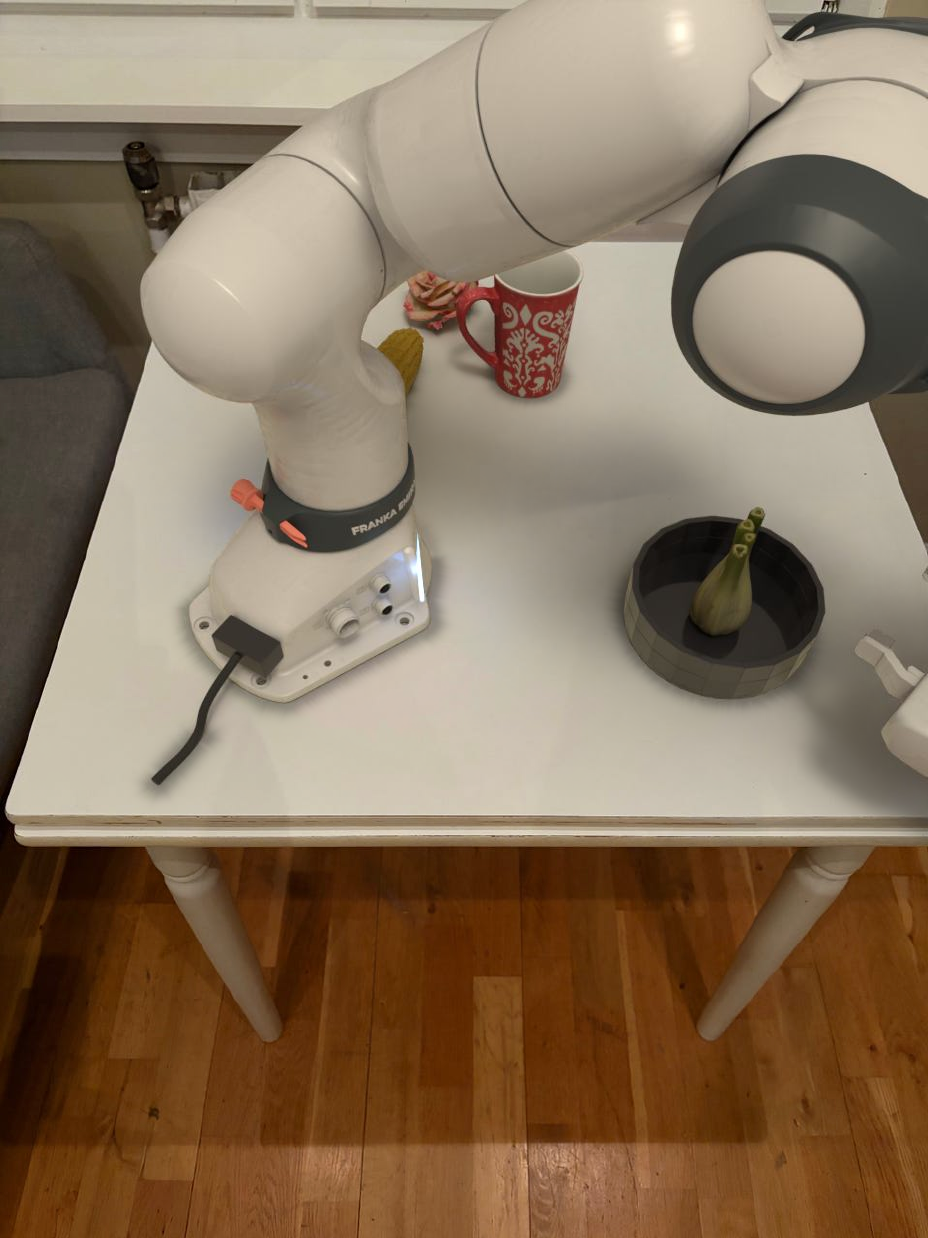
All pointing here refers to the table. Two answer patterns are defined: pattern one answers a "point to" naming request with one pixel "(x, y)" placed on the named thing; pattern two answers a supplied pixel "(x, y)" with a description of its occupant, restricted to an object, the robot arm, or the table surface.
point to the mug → (528, 322)
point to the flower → (434, 297)
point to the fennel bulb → (728, 584)
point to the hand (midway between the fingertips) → (897, 600)
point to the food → (404, 353)
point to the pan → (722, 662)
